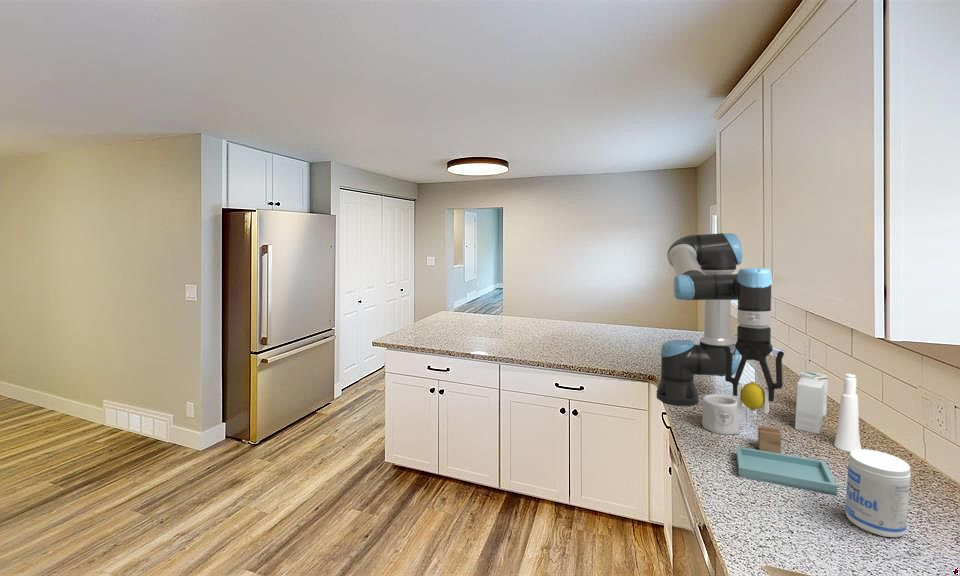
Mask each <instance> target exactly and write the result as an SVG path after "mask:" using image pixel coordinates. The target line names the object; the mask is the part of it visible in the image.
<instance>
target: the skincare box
mask: <svg viewBox="0 0 960 576" xmlns="http://www.w3.org/2000/svg"><path fill="white" fill-rule="evenodd" d="M824 383H825V381H823V380H817V379H810V378H804V377H801V378H800V377H799V381H797V384H796V385H797V386H796V400H795V401H796V402H795V405H796V406H795V422H794V424H795V425H794V429H795V430H798V431H803V432H808V433H812V434H816V435H820V433H821V430H822V428H823V420H824V416H823V401H824Z"/></svg>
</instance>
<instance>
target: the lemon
mask: <svg viewBox="0 0 960 576" xmlns="http://www.w3.org/2000/svg"><path fill="white" fill-rule="evenodd" d="M741 400H742V404H743V405H745V406H746V407H748V408H749V410H750V411H751V412H754V411H756V410H759V409H761V408H762V407H763V406H765V390H764V389H763V387H762V386H761V385H759V384H757V383H755V381H751V382H748V383H746V384H744V385H742V391H741Z"/></svg>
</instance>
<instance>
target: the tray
mask: <svg viewBox="0 0 960 576" xmlns="http://www.w3.org/2000/svg"><path fill="white" fill-rule="evenodd" d="M736 462H737V471H738V477H739V478H744V479H748V480H755V481H758V482H759V481H760V482H765V483H770V484H775V485H779V486H785V487H789V488H796V489H799V490H801V489H802V490H806V491H811V492H815V493H821V494H826V495H831V496H838V484H837V482H836V481H835V479H834V477H833V474H832V472H831V470H830V468H829V466H828V465H827V462H826V461H825V460H821V459H817V458H816V459H814V458H809V457H803V456H797V455H789V454H784V453H781V454H779V453H773V452H767V451H761V450H759V449H754V448H748V447H743V446H736Z"/></svg>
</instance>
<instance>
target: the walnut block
mask: <svg viewBox="0 0 960 576" xmlns="http://www.w3.org/2000/svg"><path fill="white" fill-rule="evenodd" d="M757 427H758V430H757V432H758V434H757V435H758V436H757V437H758V440H757V444H758V445H757V447H758V450H761V451H767V452H773V453H779V454H782V452H781V449H782V434H781V431H780V428H779V427H772V426H765V425H760V424H759V425H758V426H757Z"/></svg>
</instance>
